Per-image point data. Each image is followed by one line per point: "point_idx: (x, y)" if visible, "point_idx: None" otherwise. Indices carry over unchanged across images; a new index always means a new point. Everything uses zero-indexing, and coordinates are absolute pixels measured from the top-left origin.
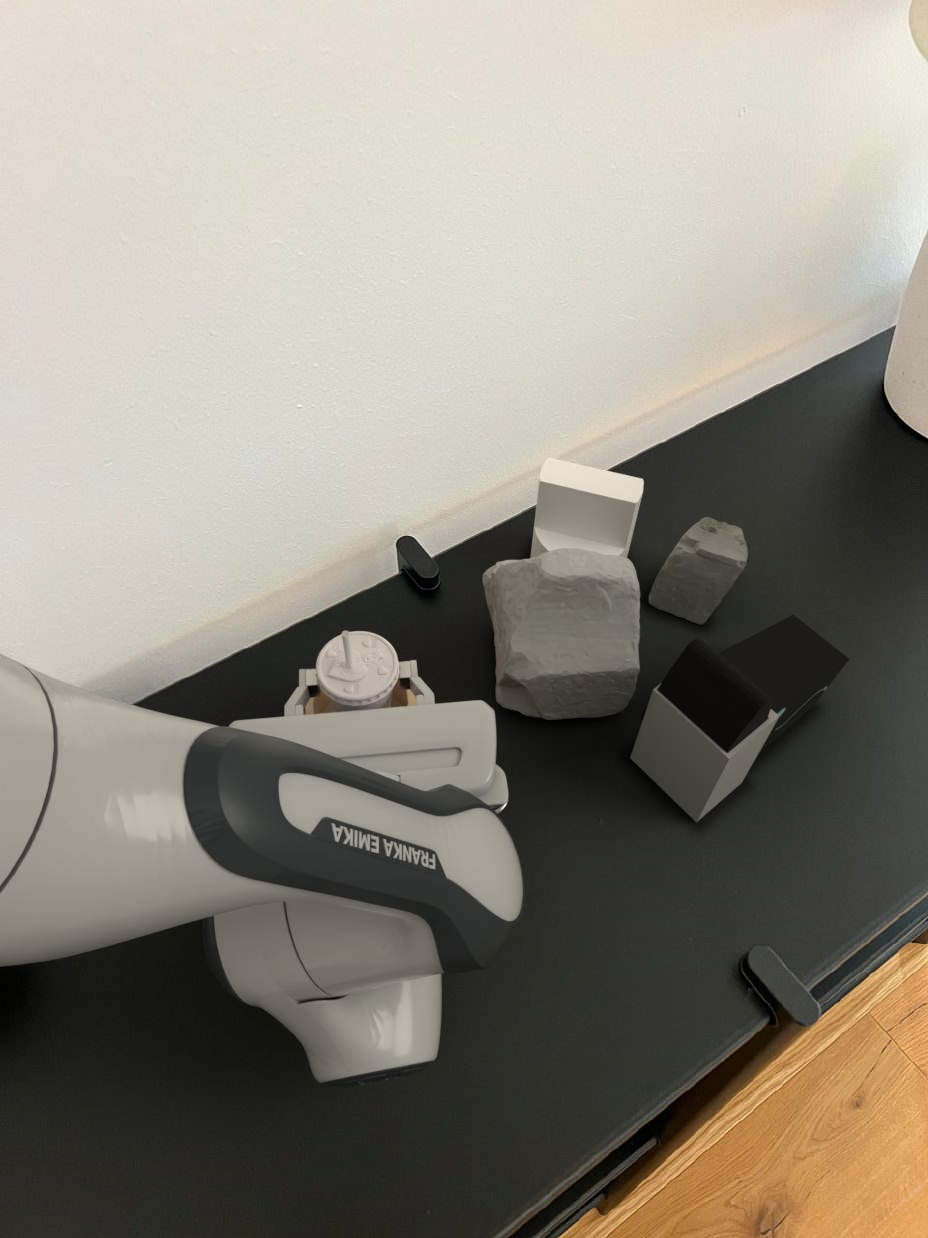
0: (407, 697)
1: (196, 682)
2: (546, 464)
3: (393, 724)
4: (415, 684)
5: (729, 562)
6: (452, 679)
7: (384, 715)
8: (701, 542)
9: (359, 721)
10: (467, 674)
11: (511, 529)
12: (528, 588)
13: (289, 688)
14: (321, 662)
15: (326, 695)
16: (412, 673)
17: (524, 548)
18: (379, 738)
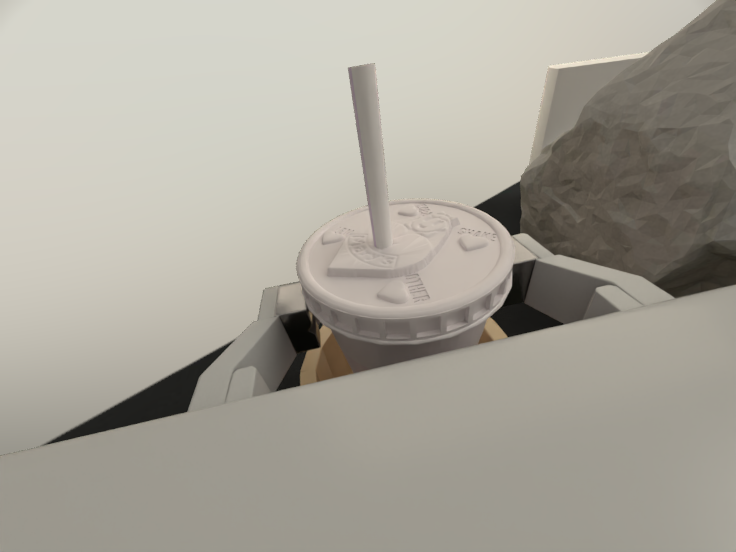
0: (490, 336)
1: (171, 374)
2: (552, 66)
3: (640, 387)
4: (564, 268)
5: None
6: (510, 319)
7: (566, 353)
8: None
9: (474, 394)
10: (526, 311)
11: (490, 199)
12: (722, 51)
13: (292, 363)
14: (310, 253)
15: (342, 361)
16: (536, 251)
17: (510, 206)
18: (637, 482)
